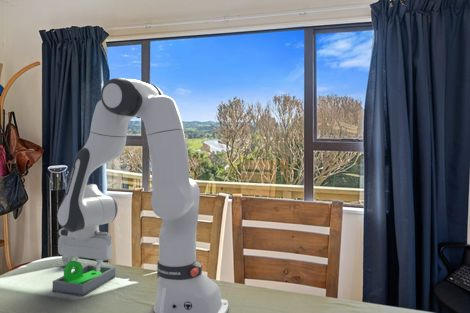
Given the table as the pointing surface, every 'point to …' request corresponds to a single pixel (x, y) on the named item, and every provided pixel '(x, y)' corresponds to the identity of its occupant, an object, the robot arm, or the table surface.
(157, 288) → the robot arm
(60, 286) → the tray
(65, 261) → the white sculpted head
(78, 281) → the mechanical part
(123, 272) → the table surface
